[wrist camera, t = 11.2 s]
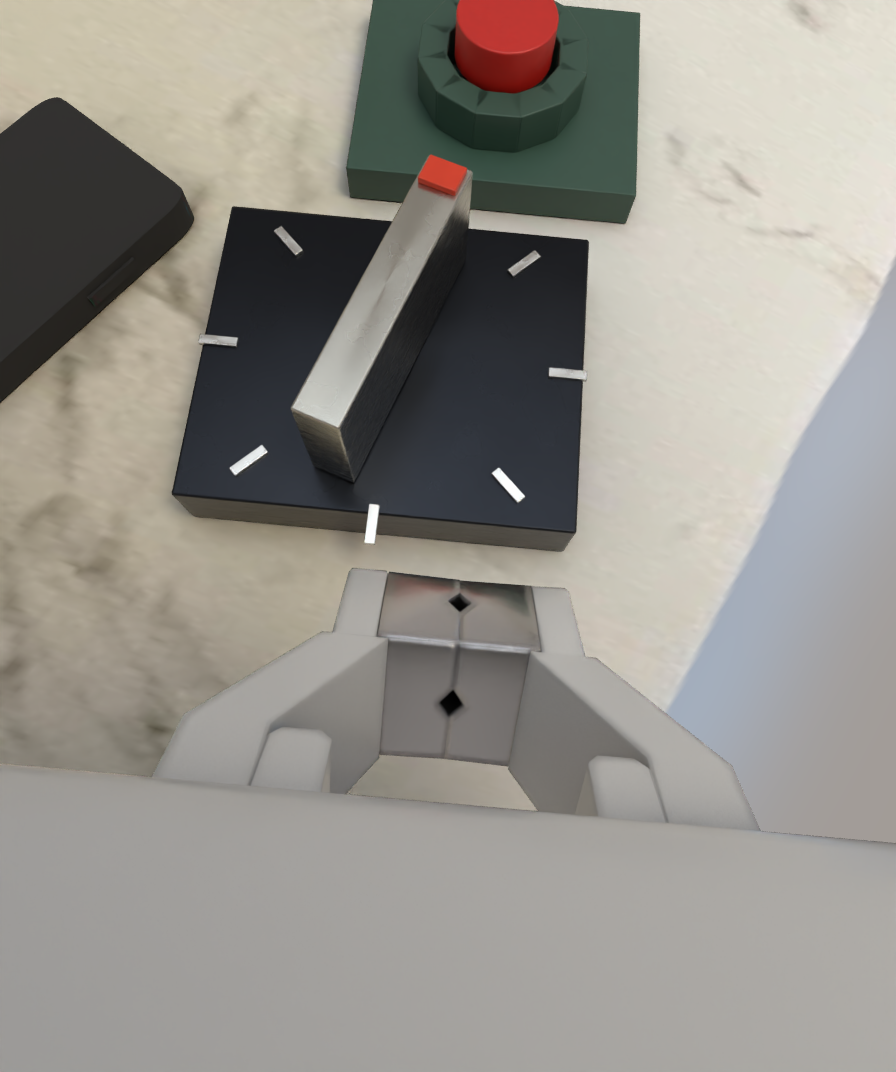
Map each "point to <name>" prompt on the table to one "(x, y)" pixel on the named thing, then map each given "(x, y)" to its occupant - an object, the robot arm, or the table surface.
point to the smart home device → (72, 230)
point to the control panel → (422, 404)
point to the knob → (386, 321)
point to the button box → (501, 115)
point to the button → (505, 42)
